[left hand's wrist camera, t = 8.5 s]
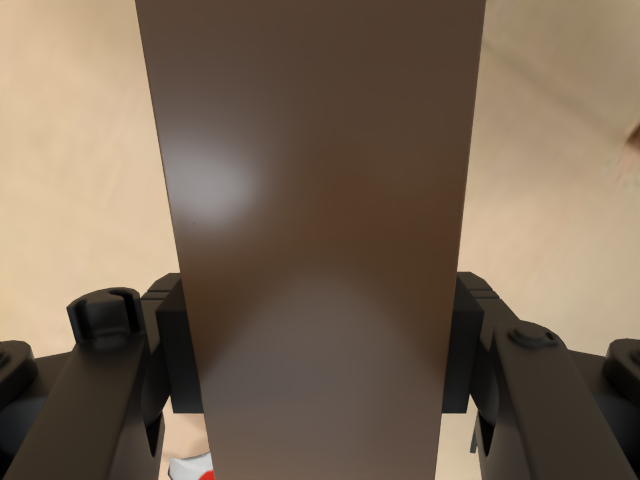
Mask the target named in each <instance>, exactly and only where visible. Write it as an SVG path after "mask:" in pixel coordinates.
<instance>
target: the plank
mask: <svg viewBox="0 0 640 480" xmlns="http://www.w3.org/2000/svg"><path fill="white" fill-rule="evenodd" d="M135 4H136V10H137V16H138V22H139V28H140V34H141V40H142V46H143V52H144V58H145V64H146V70H147V76H148V82H149V88H150V94H151V100H152V106H153V112H154V118H155V124H156V130H157V136H158V142H159V148H160V154H161V160H162V166H163V172H164V178H165V184H166V190H167V196H168V202H169V208H170V214H171V220H172V226H173V232H174V238H175V244H176V250H177V256H178V262H179V268H180V274H181V280H182V286H183V292H184V298H185V303H186V309H187V315H188V321H189V327H190V333H191V339H192V345H193V351H194V357H195V363H196V369H197V375H198V381H199V387H200V393H201V399H202V405H203V411H204V417H205V423H206V429H207V435H208V441H209V447H210V453H211V459H212V465H213V471H214V477H215V480H435V472H436V463H437V453H438V444H439V434H440V425H441V416H442V406H443V397H444V388H445V378H446V369H447V360H448V350H449V341H450V332H451V322H452V313H453V303H454V294H455V285H456V275H457V266H458V257H459V247H460V238H461V229H462V219H463V210H464V201H465V191H466V182H467V172H468V163H469V154H470V144H471V135H472V126H473V116H474V107H475V98H476V88H477V79H478V70H479V60H480V51H481V41H482V32H483V23H484V13H485V4H486V0H135Z"/></svg>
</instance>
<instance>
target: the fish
mask: <svg viewBox="0 0 640 480" xmlns="http://www.w3.org/2000/svg"><path fill="white" fill-rule="evenodd" d="M168 475H169V477H170V478H171V480H215V477H214V471H213V465H212V459H211V453H210V452H208V453H205V454H202V455H199V456H196V457H190V458H185V459H177V458H173V457H171V459H170V464H169V470H168Z"/></svg>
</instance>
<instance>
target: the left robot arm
mask: <svg viewBox="0 0 640 480" xmlns="http://www.w3.org/2000/svg"><path fill="white" fill-rule="evenodd" d="M66 309H67V312H68V316H69V319H70V323H71V326H72V330H73V334H74V337H75V341H76V344H75V346H74V348H73V350H72V351H71V352H67V353H62V354H57V355H51V356H46V357H41V358H36V359H34V356H33V353H32V350H31V347H30V345H28V344H27V343H26V342H24V341H16V340H12V341H3V342H0V480H158V477H159V469H160V462H161V454H162V447H163V440H164V432H165V423H164V417H163V411H162V410H163V408H164V406H165V404H166V402H167V400H168V398H169V396H170V397H171V403H172V408H173V413H204V411H203V405H202V399H201V393H200V387H199V381H198V375H197V369H196V363H195V357H194V351H193V345H192V339H191V333H190V327H189V321H188V315H187V309H186V303H185V298H184V292H183V286H182V280H181V274H180V273H169V274H167V275H165V276H164V277H162V278H160V279H158V280H157V281H155V282H154V283H153V285H152V286H151V287H150V288H149V289H148V290H147V292H146V293H145V294H144V295H143V296H142V297H141V298H140V294H139V292H137V291H136V290H134V289H131V288H125V287H116V288H107V289H102V290H97V291H94V292H91V293H88V294H85V295H83V296H81V297H80V298H78V299H76V300H74V301H73V302H72V303H71V304H70V305H68V306H67V307H66ZM470 394H471V396H472V398H473V400H474V402H475V404H476V406H477V408H478V411H477V416H476V422H475V427H474V432H473V437H472V442H471V448H470V453H475V452H476V447H477V446H478V453H479V461H480V468H481V476H482V480H640V340H636V339H627V338H626V339H617V340H615V341H613V342H612V343H610V345H609V348H608V351H607V354H606V357H603V356H598V355H593V354H587V353H582V352H577V351H572V350H568V349H567V347H566V345H565V344H564V342H563V341H562V340H561V339H560V337H559V336H558V335H557V334H555V333H553V332H552V331H550V330H549V329H547V328H545V327H543V326H540V325H538V324H535V323H532V322H527V321H523V320H520V319H519V318H518V317H517V316H516V315H515V314H514V313H513V312H512V310H511V309H510V308H509V307H508V306H507V305H506V304H505V303H504V301H503V300H502V299H500V298H499V296H498V295H497V294H496V292H495V291H493V289H492V288H491V287H490V286H489V285H488V283H487V282H486V281H485V280H484V279H482V278H480V277H478V276H477V275H475V274H473V273H471V272H457V275H456V285H455V294H454V303H453V313H452V322H451V332H450V341H449V350H448V360H447V369H446V378H445V388H444V397H443V406H442V413H466V412H467V406H468V401H469V395H470Z"/></svg>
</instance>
